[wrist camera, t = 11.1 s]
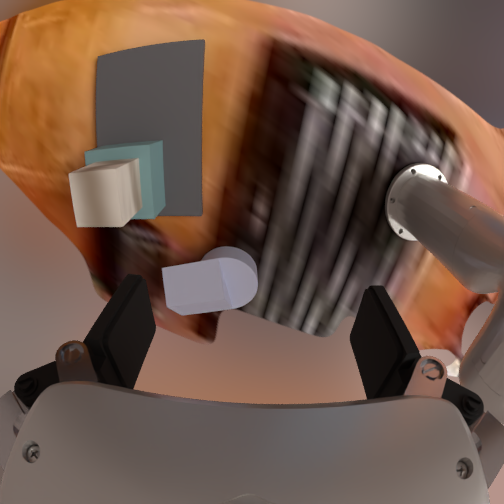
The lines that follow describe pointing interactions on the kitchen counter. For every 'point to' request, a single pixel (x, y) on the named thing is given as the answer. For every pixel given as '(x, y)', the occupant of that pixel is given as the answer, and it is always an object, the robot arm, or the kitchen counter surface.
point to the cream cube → (106, 193)
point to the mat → (157, 112)
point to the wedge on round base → (211, 282)
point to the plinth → (149, 171)
